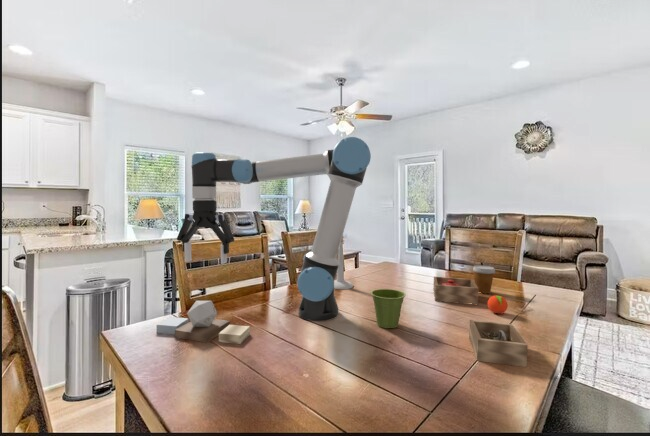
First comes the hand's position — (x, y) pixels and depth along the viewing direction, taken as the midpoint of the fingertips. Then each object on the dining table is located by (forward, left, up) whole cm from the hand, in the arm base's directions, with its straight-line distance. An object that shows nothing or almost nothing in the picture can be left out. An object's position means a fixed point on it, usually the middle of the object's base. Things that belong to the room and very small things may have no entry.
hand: (205, 262), depth 112 cm
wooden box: (-86, -60, -22) cm, 107 cm away
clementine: (-100, -43, -22) cm, 111 cm away
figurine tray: (-92, -8, -22) cm, 95 cm away
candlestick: (-33, -63, -22) cm, 74 cm away
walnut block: (-3, +5, -23) cm, 23 cm away
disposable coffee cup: (-100, -73, -22) cm, 125 cm away
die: (-2, +5, -20) cm, 21 cm away
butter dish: (-84, -58, -22) cm, 105 cm away
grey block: (+8, +6, -22) cm, 25 cm away
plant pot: (-60, -19, -22) cm, 66 cm away
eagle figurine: (-93, -7, -22) cm, 95 cm away
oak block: (-15, +6, -22) cm, 27 cm away
